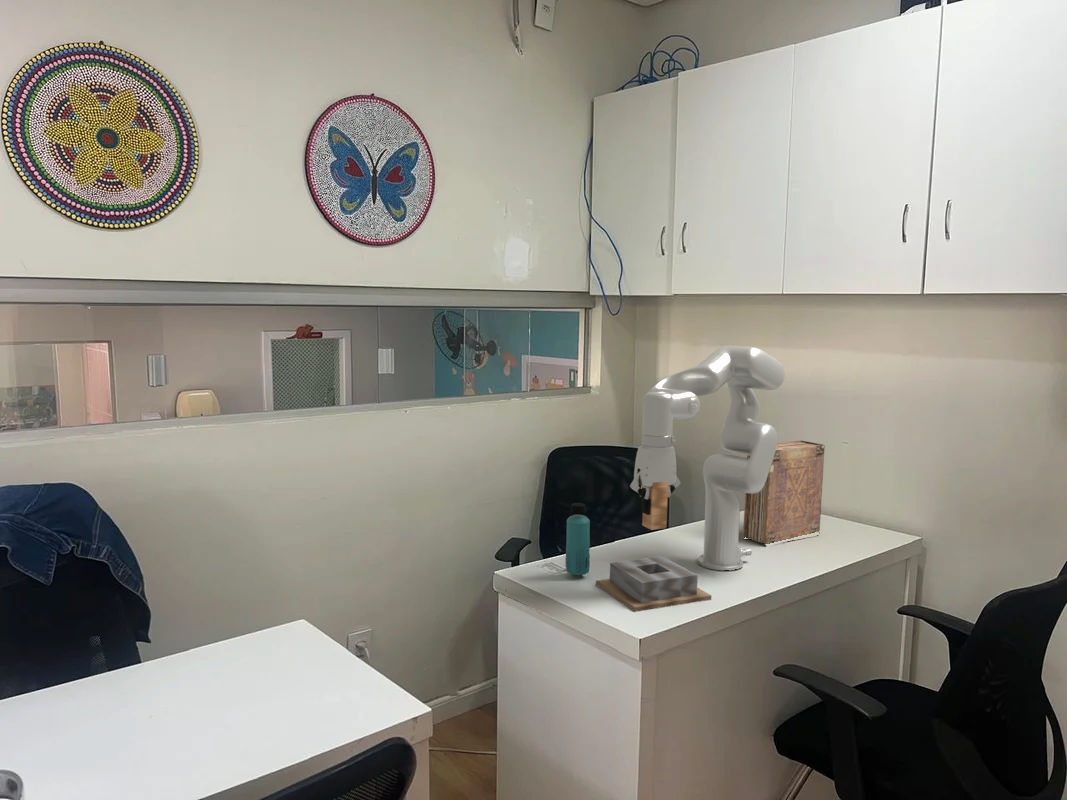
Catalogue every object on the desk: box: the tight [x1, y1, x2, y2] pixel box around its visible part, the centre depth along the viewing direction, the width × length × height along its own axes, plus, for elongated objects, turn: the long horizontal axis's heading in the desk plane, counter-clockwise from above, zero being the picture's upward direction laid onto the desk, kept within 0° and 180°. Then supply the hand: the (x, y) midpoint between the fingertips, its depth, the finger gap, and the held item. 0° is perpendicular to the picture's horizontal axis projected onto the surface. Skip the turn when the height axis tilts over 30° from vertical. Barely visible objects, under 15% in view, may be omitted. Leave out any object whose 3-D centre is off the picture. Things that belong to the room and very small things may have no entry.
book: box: [742, 440, 826, 545], centre depth 248 cm, size 25×9×30 cm, turn 122°
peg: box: [641, 481, 668, 531], centre depth 196 cm, size 4×4×12 cm
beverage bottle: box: [565, 502, 591, 576], centre depth 208 cm, size 6×7×20 cm
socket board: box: [595, 555, 712, 612], centre depth 199 cm, size 22×20×6 cm
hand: (654, 511), depth 197 cm, fingers closed on peg, 4 cm apart
